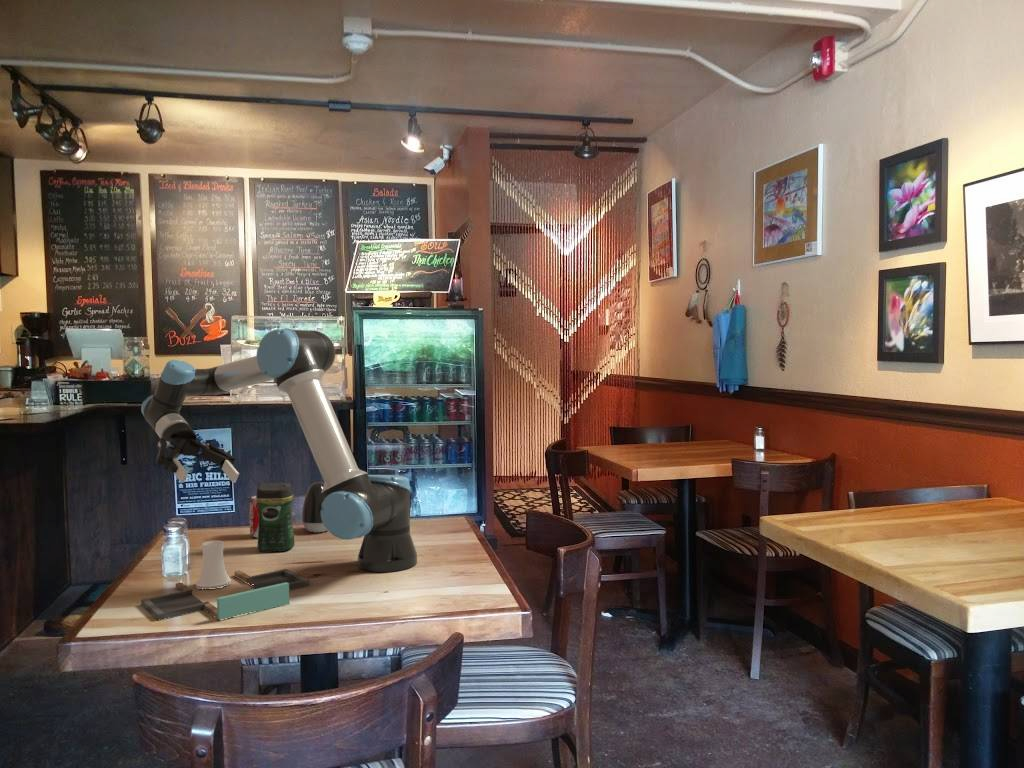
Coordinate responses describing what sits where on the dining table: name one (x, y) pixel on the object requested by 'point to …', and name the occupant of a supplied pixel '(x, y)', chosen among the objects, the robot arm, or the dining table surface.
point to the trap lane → (189, 603)
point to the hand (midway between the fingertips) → (211, 478)
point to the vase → (213, 566)
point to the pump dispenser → (313, 509)
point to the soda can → (254, 517)
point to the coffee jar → (275, 517)
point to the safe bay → (252, 600)
